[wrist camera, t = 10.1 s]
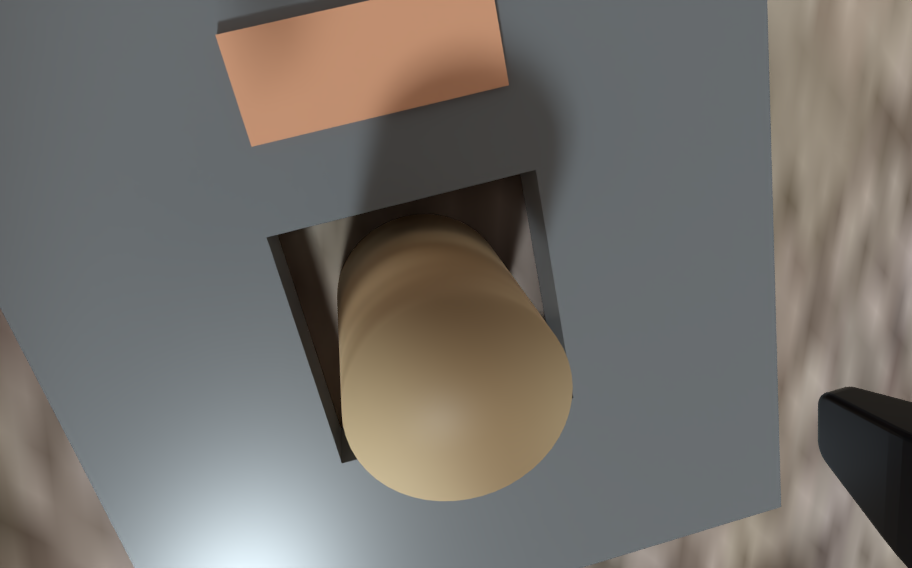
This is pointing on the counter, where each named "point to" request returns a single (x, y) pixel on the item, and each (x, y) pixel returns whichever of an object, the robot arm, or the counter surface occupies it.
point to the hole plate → (371, 188)
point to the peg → (444, 363)
